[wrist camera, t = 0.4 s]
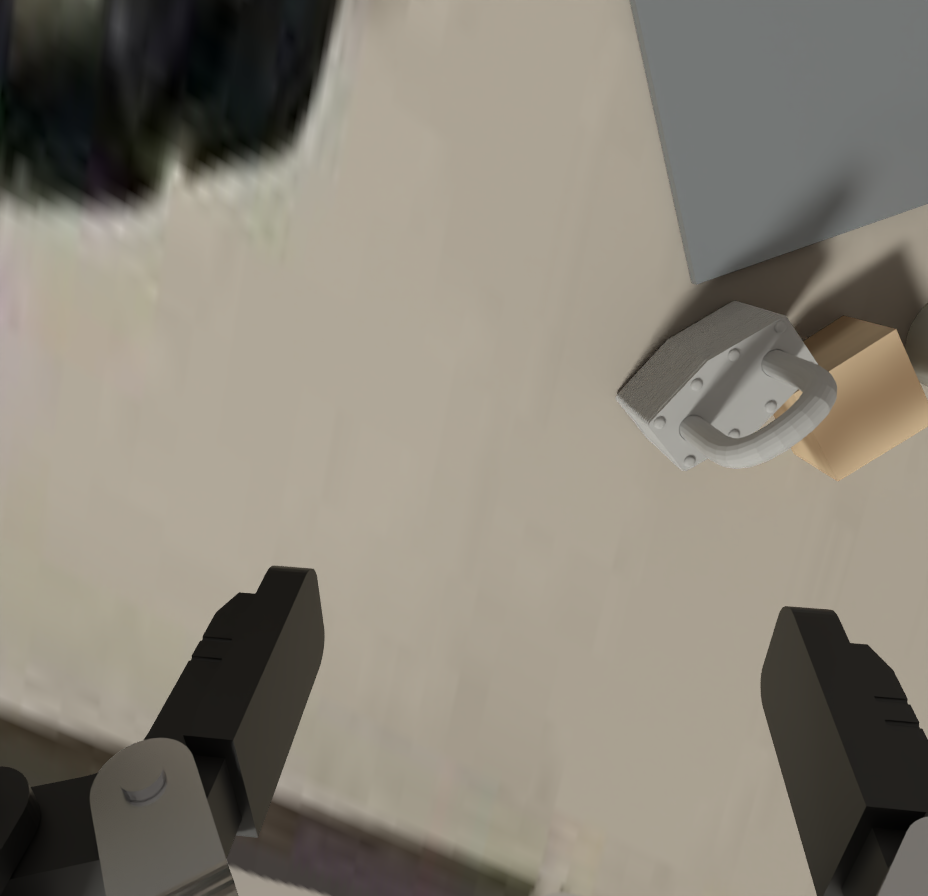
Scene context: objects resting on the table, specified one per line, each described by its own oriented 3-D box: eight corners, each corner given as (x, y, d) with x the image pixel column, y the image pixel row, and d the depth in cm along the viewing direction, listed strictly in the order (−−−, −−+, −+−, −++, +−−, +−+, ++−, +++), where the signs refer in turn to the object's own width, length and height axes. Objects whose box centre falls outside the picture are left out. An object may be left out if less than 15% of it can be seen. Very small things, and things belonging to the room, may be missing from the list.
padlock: (726, 288, 34) (855, 323, 25) (771, 353, 35) (909, 409, 26) (605, 387, 35) (684, 456, 26) (652, 446, 36) (744, 533, 27)
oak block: (750, 373, 36) (793, 394, 32) (841, 314, 35) (896, 328, 31) (792, 452, 37) (837, 481, 33) (880, 398, 37) (936, 421, 33)
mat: (616, -58, 29) (621, -63, 28) (954, -179, 29) (966, -187, 28) (691, 283, 34) (696, 284, 33) (982, 181, 33) (993, 180, 33)
